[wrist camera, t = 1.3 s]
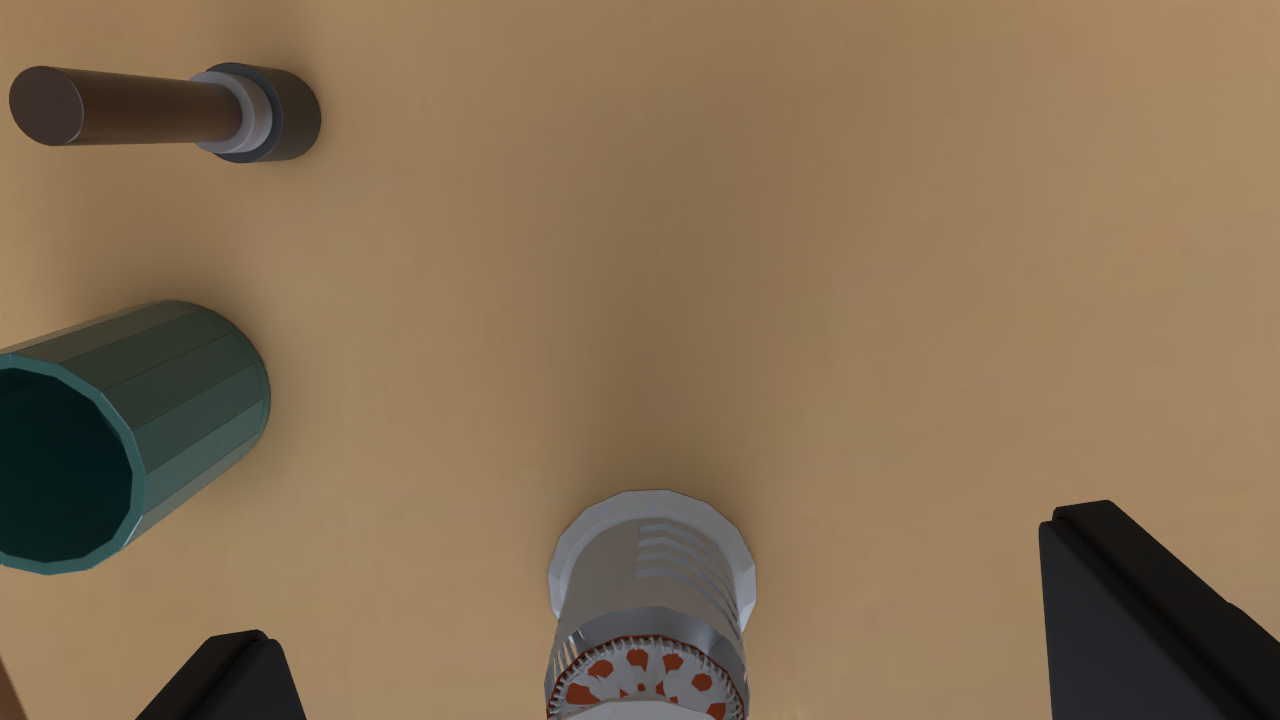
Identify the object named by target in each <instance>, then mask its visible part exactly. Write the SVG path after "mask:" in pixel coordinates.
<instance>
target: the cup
mask: <svg viewBox="0 0 1280 720" xmlns="http://www.w3.org/2000/svg"><path fill="white" fill-rule="evenodd" d="M269 409H270V390H269V383H268V379H267V374H266V372H265V369H264V366H263V364H262V362H261V360H260V357H259V355H258V354H257V352H256V350H255V349H254V347H253V346H252V344H251V343H250V342H249V341H248V339H247V338H246V337H245V336H244V335H243V334H242V333H241V332H240V331H239V330H238V329H237V328H236V327H235V326H234V325H233V324H231V323H230V322H229V321H227V320H226V319H225V318H223V317H221V316H220V315H218V314H216V313H214V312H213V311H210V310H208V309H206V308H203V307H201V306H198V305H194V304H191V303H186V302H180V301H157V302H151V303H147V304H143V305H140V306H136V307H130V308H126V309H123V310H120V311H116V312H113V313H110V314H107V315H104V316H101V317H98V318H95V319H92V320H89V321H86V322H83V323H80V324H76V325H73V326H70V327H67V328H64V329H61V330H58V331H55V332H52V333H49V334H46V335H43V336H40V337H36V338H33V339H30V340H27V341H24V342H21V343H18V344H15V345H12V346H9V347H6V348H3V349H0V565H3V566H7V567H11V568H15V569H20V570H24V571H29V572H33V573H38V574H42V575H55V574H62V573H70V572H77V571H84V570H89V569H92V568H93V567H95V566H96V565H98V564H100V563H101V562H103V561H104V560H106V559H108V558H109V557H111V556H112V555H114V554H116V553H117V552H119V551H120V550H122V549H123V548H125V547H126V546H127V545H129V544H130V543H131V542H133V541H134V540H135V539H137V538H138V537H139V536H141V535H142V534H143V533H144V532H146V531H147V530H148V529H150V528H151V527H152V526H154V525H155V524H156V523H158V522H159V521H160V520H162V519H163V518H164V517H166V516H167V515H168V514H170V513H171V512H172V511H173V510H175V509H176V508H177V507H179V506H180V505H181V504H183V503H184V502H185V501H187V500H188V499H189V498H191V497H192V496H193V495H195V494H196V493H197V492H199V491H200V490H201V489H202V488H204V487H205V486H206V485H208V484H209V483H210V482H212V481H213V480H214V479H216V478H217V477H218V476H220V475H221V474H222V473H224V472H225V471H226V470H227V469H229V468H230V467H231V466H233V465H234V464H235V463H237V462H238V461H239V460H241V459H242V458H243V456H244V455H245V454H246V453H247V452H248V451H249V450H250V449H251V448H252V447H253V446H254V445H255V444H256V442H257V441H258V439H259V438H260V436H261V434H262V432H263V430H264V428H265V425H266V422H267V419H268V414H269Z"/></svg>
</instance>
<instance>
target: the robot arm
mask: <svg viewBox="0 0 1280 720" xmlns="http://www.w3.org/2000/svg"><path fill="white" fill-rule="evenodd" d="M1039 548H1040V562H1041V575H1042V588H1043V601H1044V614H1045V628H1046V641H1047V654H1048V667H1049V680H1050V694H1051V707H1052V717H1053V720H1280V643H1279V642H1278V641H1277V640H1276V639H1275V638H1274V637H1272V636H1271V635H1270V634H1269V633H1268V632H1267V631H1266V630H1264V629H1263V628H1262V627H1261V626H1260V625H1259V624H1257V623H1256V622H1255V621H1254V620H1253V619H1252V618H1250V617H1249V616H1248V615H1247V614H1246V613H1245V612H1243V611H1242V610H1241V609H1239V608H1238V607H1236V606H1235V605H1233V604H1231V603H1228V602H1227V601H1226V600H1224V599H1223V598H1222V597H1221V596H1220V595H1219V594H1218V593H1216V592H1215V591H1214V590H1213V589H1212V588H1211V587H1210V586H1208V585H1207V584H1206V583H1205V582H1204V581H1203V580H1202V579H1200V578H1199V577H1198V576H1197V575H1196V574H1195V573H1193V572H1192V571H1191V570H1190V569H1189V568H1188V567H1187V566H1185V565H1184V564H1183V563H1182V562H1181V561H1180V560H1179V559H1177V558H1176V557H1175V556H1174V555H1173V554H1172V553H1171V552H1169V551H1168V550H1167V549H1166V548H1165V547H1164V546H1162V545H1161V544H1160V543H1159V542H1158V541H1157V540H1156V539H1154V538H1153V537H1152V536H1151V535H1150V534H1149V533H1148V532H1146V531H1145V530H1144V529H1143V528H1142V527H1141V526H1140V525H1138V524H1137V523H1136V522H1135V521H1134V520H1133V519H1131V518H1130V517H1129V516H1128V515H1127V514H1126V513H1125V512H1123V511H1122V510H1121V509H1120V508H1119V507H1118V506H1117V505H1115V504H1114V503H1113V502H1111V501H1109V500H1101V501H1094V502H1088V503H1081V504H1075V505H1068V506H1061V507H1056V509H1055V510H1054V512H1053V516H1052V521H1046V522H1042V523H1041V524H1040V526H1039ZM135 720H307V719H306V716H305V713H304V711H303V708H302V705H301V702H300V699H299V696H298V693H297V690H296V687H295V684H294V681H293V678H292V675H291V672H290V670H289V667H288V664H287V661H286V658H285V655H284V652H283V649H282V647H281V645H280V644H279V643H278V641H277V640H274V639H268V637H267V636H266V635H265V634H264V633H263V632H262V631H260V630H257V629H256V630H249V631H243V632H236V633H230V634H223V635H217V636H212V637H210V638H209V639H207V640H206V641H205V642H204V643H203V644H202V645H201V646H200V648H199V649H198V650H197V651H196V652H195V653H194V654H193V655H192V656H191V658H190V659H189V660H188V661H187V662H186V663H185V664H184V665H183V667H182V668H181V669H180V670H179V671H178V672H177V673H176V674H175V675H174V677H173V678H172V679H171V680H170V681H169V682H168V683H167V684H166V686H165V687H164V688H163V689H162V690H161V691H160V692H159V693H158V694H157V696H156V697H155V698H154V699H153V700H152V701H151V702H150V703H149V705H148V706H147V707H146V708H145V709H144V710H143V711H142V712H141V713H140V715H139V716H138V717H137V718H136V719H135Z"/></svg>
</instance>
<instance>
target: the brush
mask: <svg viewBox="0 0 1280 720" xmlns="http://www.w3.org/2000/svg"><path fill="white" fill-rule="evenodd" d="M9 104H10V109H11V113H12V116H13V118H14V120H15V122H16V123H17V125H18V126H19V128H20V129H21V130H22V131H23V132H24V133H25V134H26V135H27V136H28V137H30V138H31V139H33V140H34V141H36V142H38V143H41V144H44V145H48V146H78V145H118V144H157V143H195V144H196V145H197V146H199V147H200V148H202V149H204V150H206V151H209V152H212V153H213V154H215V155H216V156H218V157H220V158H222V159H224V160H227V161H230V162H234V163H254V162H267V161H280V160H289V159H293V158H296V157H299V156H301V155H302V154H304V153H305V152H306V151H308V150H309V149H310V148H311V146H312V145H313V144H314V142H315V140H316V139H317V136H318V134H319V130H320V123H321V115H320V109H319V105H318V102H317V100H316V97H315V96H314V94H313V92H312V91H311V89H310V88H309V87H308V86H307V84H306V83H305V82H303V81H302V80H301V79H300V78H298V77H297V76H296V75H294V74H292V73H290V72H287V71H284V70H279V69H273V68H267V67H260V66H254V65H247V64H241V63H222V64H218V65H215V66H213V67H211V68H209V69H208V70H206V71H205V72H202V73H199V74H197V75H195V76H193V77H192V78H190V79H189V80H188V81H186V80H176V79H167V78H157V77H147V76H137V75H127V74H118V73H108V72H98V71H88V70H78V69H69V68H59V67H49V66H35V67H31V68H28V69H26V70H24V71H23V72H21V73H20V74H19V75H18V76H17V77H16V78H15V80H14V82H13V84H12V86H11V89H10V94H9Z"/></svg>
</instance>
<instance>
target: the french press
mask: <svg viewBox="0 0 1280 720" xmlns="http://www.w3.org/2000/svg"><path fill="white" fill-rule="evenodd" d="M548 579H549V589H550V599H551V608H552V610H553V612H554V614H555V615H556V617H557V619H558V621H559V622H558V627H557V629H556V633H555V639H554V644H553V647H552V650H551V654H550V659H549V663H548V668H547V672H546V677H545V682H544V689H545V698H546V707H547V709H546V712H547V720H747V718H748V716H749V701H750V691H749V682H748V673H747V668H746V660H745V654H744V648H743V636H742V633H743V631H744V629H745V626H746V624H747V622H748V619H749V617H750V615H751V612H752V610H753V608H754V605H755V603H756V572H755V562H754V560H753V558H752V556H751V554H750V552H749V550H748V548H747V546H746V544H745V542H744V540H743V538H742V536H741V534H740V532H739V530H738V529H737V528H736V527H735V526H734V525H733V524H732V523H730V522H729V521H728V520H727V519H726V518H724V517H723V516H722V515H721V514H720V513H718V512H717V511H716V510H715V509H714V508H712V507H711V506H710V505H709V504H708V503H706V502H703V501H700V500H697V499H694V498H691V497H688V496H685V495H682V494H679V493H676V492H673V491H670V490H667V489H666V490H644V491H624V492H622V493H620V494H617V495H615V496H613V497H611V498H608V499H606V500H604V501H602V502H599V503H597V504H595V505H593V506H590V507H588V508H586V509H585V511H584V512H583V513H582V514H581V515H580V516H579V517H578V518H577V519H576V520H575V521H574V522H573V523H572V524H571V525H570V526H569V527H568V528H567V530H566V531H565V532H564V533H563V534H562V535H561V536H560V538H559V541H558V544H557V546H556V549H555V552H554V555H553V558H552V561H551V564H550V567H549V570H548ZM558 629H559V632H558ZM557 632H558V634H557ZM739 637H740V639H741V642H739ZM569 640H570V641H571V642H572V643H574V645H575V648H576V651H577V654H578V657H577V658H576V659H575V657H574V655H573V652H572V649H571V647H570V642H569ZM563 642H565V645H566V648H567V651H568V654H569V657H570V660H571V664H570V665H569V666H568V665H567V661H566V657H565V653H564V648H563ZM559 649H560V658H561V661H562V664H563V667H564V671H563V672H562V673H561V669H560V665H559V661H558V651H559ZM554 658H555V665H556V676H557V681H556V684H555V678H554V662H553V659H554ZM742 662H743V663H742ZM745 672H746V682H745V681H744V673H745Z"/></svg>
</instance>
